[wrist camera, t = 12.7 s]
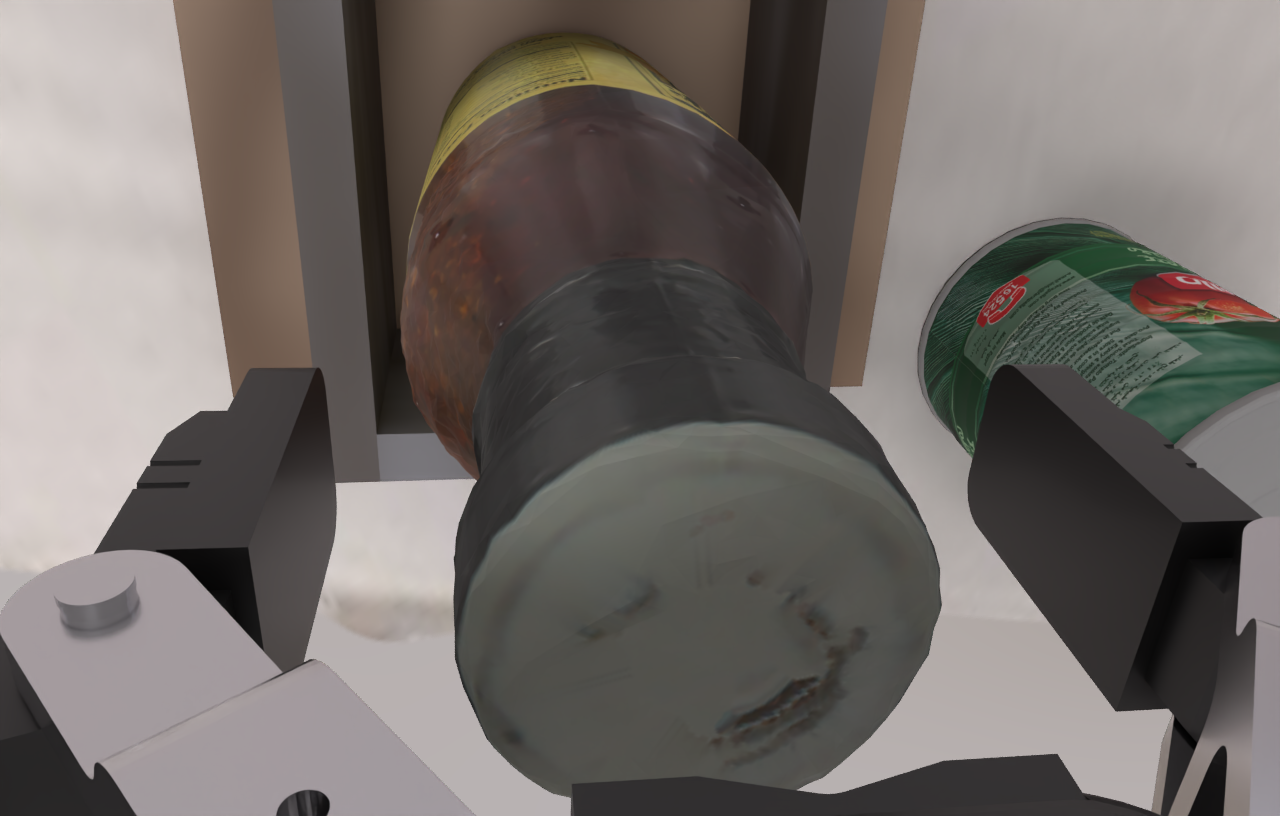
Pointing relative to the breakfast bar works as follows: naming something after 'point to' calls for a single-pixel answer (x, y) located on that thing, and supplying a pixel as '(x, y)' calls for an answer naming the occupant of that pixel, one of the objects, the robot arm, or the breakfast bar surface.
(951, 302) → the canned tomato
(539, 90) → the sauce bottle
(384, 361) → the bottle holder
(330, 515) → the robot arm
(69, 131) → the breakfast bar surface
